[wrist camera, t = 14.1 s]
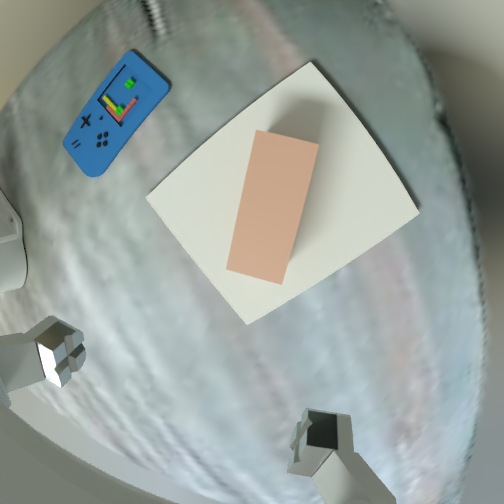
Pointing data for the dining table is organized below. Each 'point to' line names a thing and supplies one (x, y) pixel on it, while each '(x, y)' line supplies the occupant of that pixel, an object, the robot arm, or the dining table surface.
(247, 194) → the terracotta block
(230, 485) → the dining table surface
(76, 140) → the handheld gaming device
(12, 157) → the dining table surface
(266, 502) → the dining table surface
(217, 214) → the white mat
